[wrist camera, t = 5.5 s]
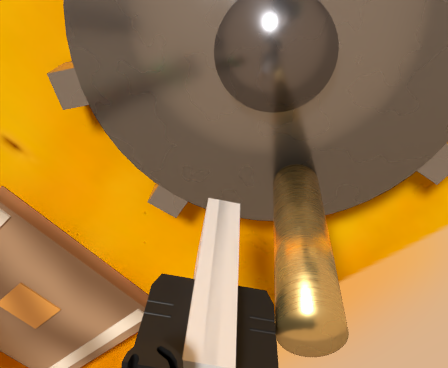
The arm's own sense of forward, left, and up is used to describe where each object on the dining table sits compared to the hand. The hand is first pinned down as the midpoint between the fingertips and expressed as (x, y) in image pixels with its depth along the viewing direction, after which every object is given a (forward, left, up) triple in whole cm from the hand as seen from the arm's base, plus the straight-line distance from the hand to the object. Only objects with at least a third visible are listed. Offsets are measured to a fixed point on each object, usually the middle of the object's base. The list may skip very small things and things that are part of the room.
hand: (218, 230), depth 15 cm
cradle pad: (+17, -1, -6) cm, 18 cm away
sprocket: (-5, -3, -6) cm, 8 cm away
